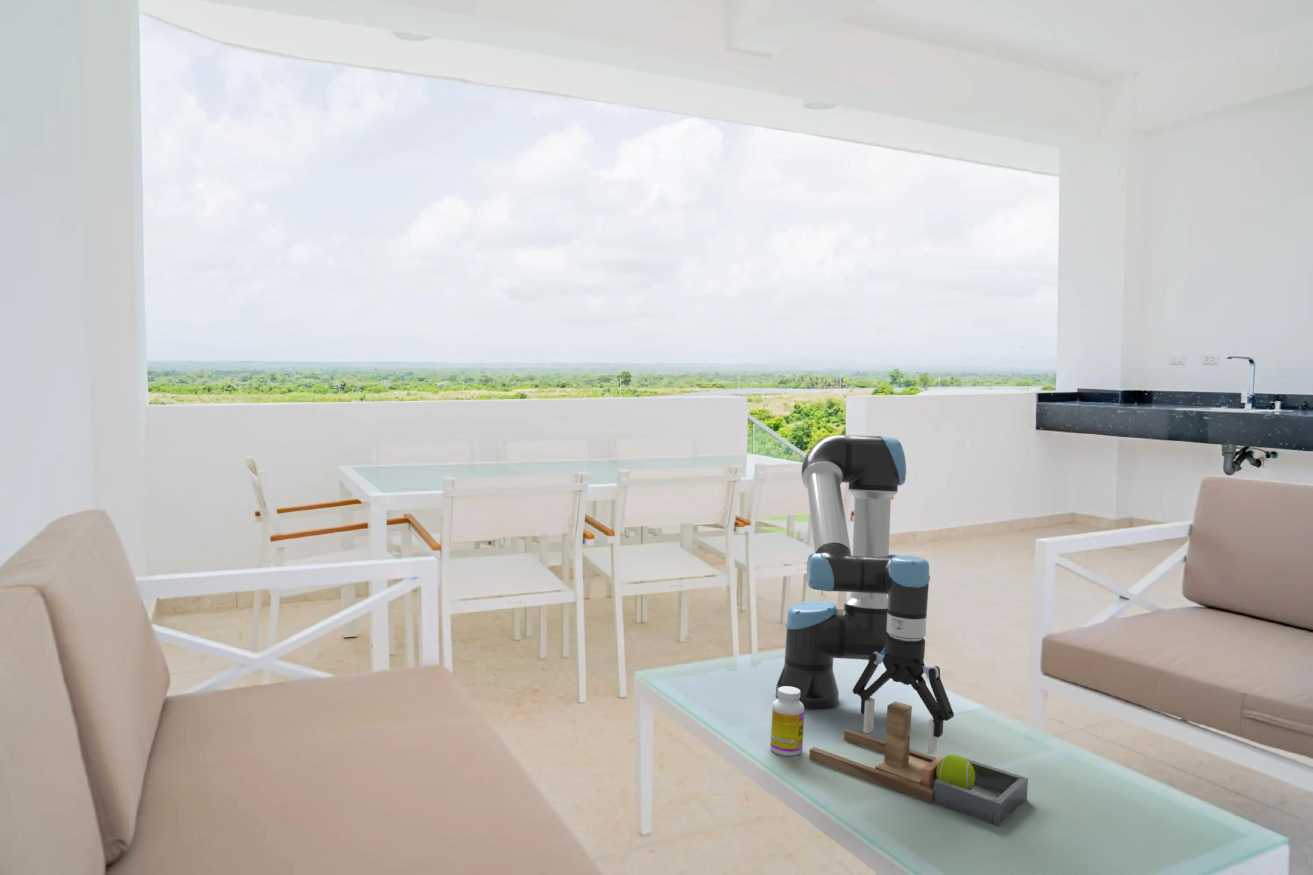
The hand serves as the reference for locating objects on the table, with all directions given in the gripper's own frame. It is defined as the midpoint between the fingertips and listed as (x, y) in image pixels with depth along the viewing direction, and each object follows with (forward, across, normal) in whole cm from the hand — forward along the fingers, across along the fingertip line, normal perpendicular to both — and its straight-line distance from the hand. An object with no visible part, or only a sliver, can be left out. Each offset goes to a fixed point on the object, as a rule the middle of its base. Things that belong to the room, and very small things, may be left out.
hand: (899, 741), depth 171 cm
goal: (+6, +16, 0) cm, 17 cm away
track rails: (+6, -2, 0) cm, 7 cm away
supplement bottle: (+6, -21, -8) cm, 23 cm away
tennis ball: (+6, +12, 0) cm, 13 cm away
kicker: (+6, +2, 0) cm, 7 cm away
